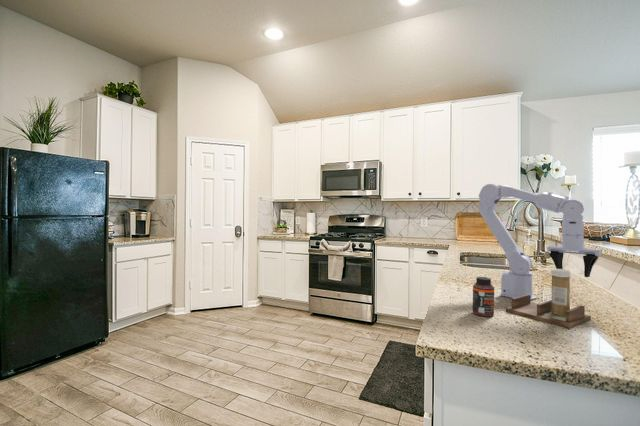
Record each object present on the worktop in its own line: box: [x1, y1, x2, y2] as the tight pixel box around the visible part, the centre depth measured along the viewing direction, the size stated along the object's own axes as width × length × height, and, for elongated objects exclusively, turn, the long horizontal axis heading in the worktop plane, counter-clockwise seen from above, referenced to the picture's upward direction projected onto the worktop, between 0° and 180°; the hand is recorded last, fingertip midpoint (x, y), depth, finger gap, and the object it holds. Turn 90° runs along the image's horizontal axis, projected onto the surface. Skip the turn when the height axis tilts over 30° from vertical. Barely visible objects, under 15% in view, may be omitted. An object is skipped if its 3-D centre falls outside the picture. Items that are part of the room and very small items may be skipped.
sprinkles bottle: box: [550, 268, 571, 316], centre depth 93 cm, size 5×5×14 cm
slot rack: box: [505, 294, 592, 329], centre depth 96 cm, size 17×14×4 cm
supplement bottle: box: [472, 276, 495, 318], centre depth 96 cm, size 6×6×11 cm
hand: (573, 274), depth 105 cm, fingers open, 7 cm apart
